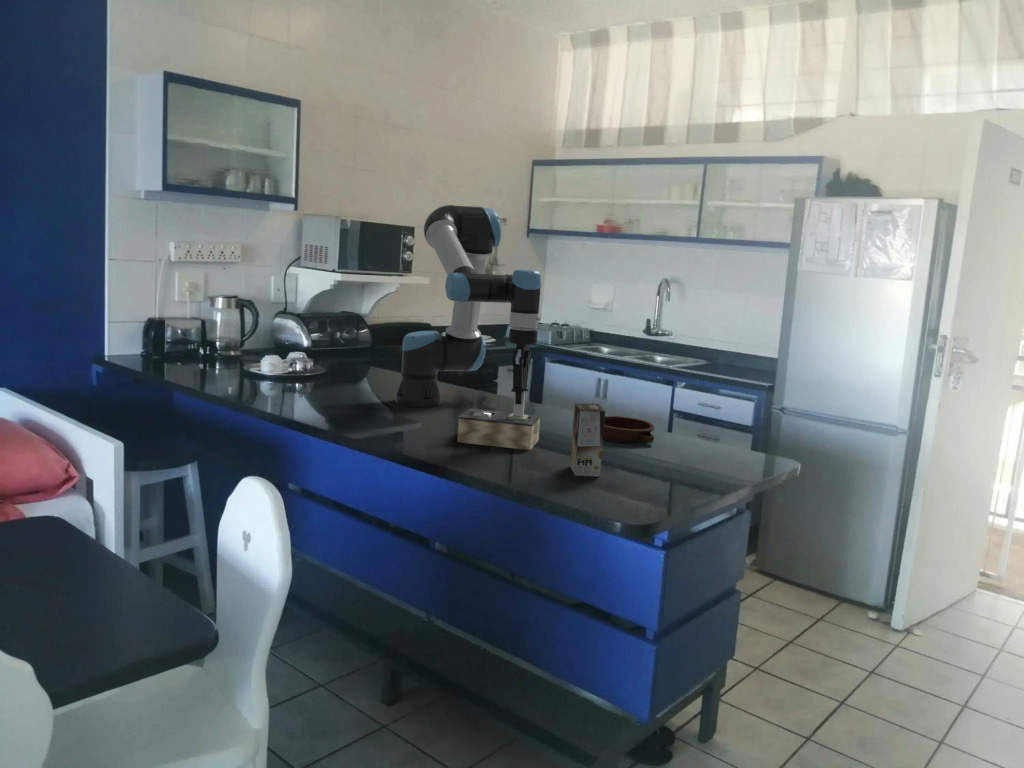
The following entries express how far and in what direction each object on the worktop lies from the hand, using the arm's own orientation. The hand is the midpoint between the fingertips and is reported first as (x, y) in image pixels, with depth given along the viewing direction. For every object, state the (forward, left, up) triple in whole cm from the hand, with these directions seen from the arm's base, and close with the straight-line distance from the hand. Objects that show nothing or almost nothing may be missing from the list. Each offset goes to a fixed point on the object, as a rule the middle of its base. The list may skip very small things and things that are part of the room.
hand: (518, 415), depth 224 cm
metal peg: (-10, 0, -8) cm, 12 cm away
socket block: (-5, 0, -8) cm, 9 cm away
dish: (+27, +19, -8) cm, 34 cm away
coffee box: (+21, -20, -8) cm, 30 cm away
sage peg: (0, 0, -7) cm, 7 cm away
